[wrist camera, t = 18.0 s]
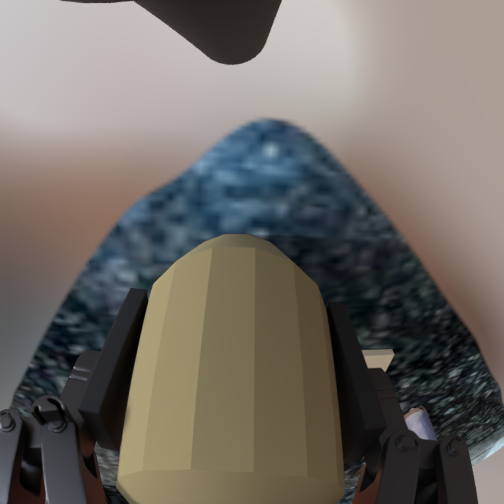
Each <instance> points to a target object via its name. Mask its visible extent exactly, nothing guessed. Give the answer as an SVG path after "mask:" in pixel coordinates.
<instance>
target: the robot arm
mask: <svg viewBox="0 0 504 504" xmlns="http://www.w3.org/2000/svg"><path fill="white" fill-rule="evenodd" d="M147 305H148V297H147V290H145V289H135V288H131V289H130V291H129V293H128V295H127V297H126V299H125V301H124V303H123V305H122V307H121V309H120V311H119V313H118V315H117V317H116V319H115V321H114V323H113V326H112V328H111V330H110V332H109V334H108V336H107V339H106V341H105V343H104V345H103V347H102V350H101V352H99V351H94V350H89V349H87V350H86V351H85V352H84V353H83V354H82V355H81V356H79V357H78V359H77V361H76V364H75V366H74V369H73V370H72V372H71V374H70V378H68V381H67V383H66V385H65V387H64V389H63V392H62V394H61V396H60V398H59V397H57V396H55V395H45V396H41V397H40V398H38V399H37V400H36V401H35V402H34V403H33V405H32V408H31V413H32V415H33V416H34V417H21V416H20V415H19V414H18V413H17V412H16V411H14V410H12V409H5V410H2V411H0V504H45V496H46V498H47V504H107V502H106V498H105V494H104V490H103V485H102V481H101V476H100V472H99V467H98V462H97V457H96V453H95V451H94V446H95V443H96V441H97V443H98V445H99V446H100V447H102V448H106V449H110V450H114V451H118V452H119V449H120V445H121V441H122V434H123V427H124V420H125V414H126V408H127V402H128V396H129V390H130V385H131V379H132V374H133V369H134V364H135V358H136V354H137V349H138V344H139V339H140V335H141V330H142V326H143V321H144V317H145V313H146V309H147ZM326 311H327V316H328V323H329V330H330V337H331V345H332V353H333V361H334V369H335V377H336V386H337V396H338V405H339V416H340V427H341V439H342V452H343V463H351V462H358V461H359V460H360V459H361V458H362V457H363V456H364V458H365V462H366V463H365V465H364V466H363V467H362V468H361V469H360V470H359V471H358V472H357V474H356V476H355V477H358V476H359V475H360V474H361V475H360V479H359V482H358V486H357V489H356V493H355V496H354V500H353V503H352V504H478V499H477V492H476V486H475V481H474V475H473V471H472V465H471V460H470V456H469V451H468V447H467V444H466V442H465V441H464V439H463V438H462V437H460V436H458V435H455V434H450V435H446V436H445V437H444V438H443V439H442V440H441V441H437V440H428V439H422V438H419V436H418V435H417V434H416V433H415V432H414V431H412V430H409V429H408V427H407V425H406V422H405V419H404V416H403V413H402V410H401V408H400V405H399V402H398V399H397V397H396V394H395V391H394V389H393V386H392V383H391V381H390V378H389V376H388V375H387V374H386V373H385V371H384V370H383V369H382V368H381V367H380V368H368V366H367V364H366V361H365V358H364V355H363V352H362V349H361V347H360V344H359V341H358V338H357V336H356V333H355V330H354V328H353V325H352V322H351V319H350V317H349V314H348V312H347V309H346V306H345V304H344V303H332V302H328V306H327V309H326Z"/></svg>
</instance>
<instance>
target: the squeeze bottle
mask: <svg viewBox="0 0 504 504" xmlns="http://www.w3.org/2000/svg"><path fill="white" fill-rule="evenodd" d="M116 488H117V489H118V490H119V492H120V493H121V494H122V495H123V496H124V498H125V499H126V500H127V501H128V502H129V504H337V503H338V501H339V500H340V499H341V498H342V497H343V496H344V495H345V484H344V466H343V452H342V439H341V427H340V416H339V405H338V396H337V386H336V377H335V369H334V361H333V353H332V345H331V337H330V330H329V323H328V316H327V311H326V308H325V305H324V302H323V299H322V296H321V293H320V290H319V287H318V285H317V284H316V283H315V282H314V281H313V280H312V279H311V278H310V277H308V276H307V275H306V274H305V273H304V272H303V271H302V270H301V269H300V268H299V267H298V266H297V265H296V264H295V263H294V262H293V261H292V260H290V259H289V258H288V257H287V256H286V255H285V254H284V253H282V252H281V251H280V250H279V249H278V248H277V247H276V246H274V245H273V244H272V243H271V242H269V241H266V240H263V239H261V238H258V237H256V236H253V235H250V234H224V235H221V236H218V237H216V238H213V239H211V240H208V241H205V242H203V243H202V244H200V245H199V246H197V247H196V248H194V249H193V250H192V251H190V252H189V253H187V254H186V255H184V256H183V257H182V258H180V259H179V260H177V261H176V262H175V263H174V264H173V265H172V266H171V267H170V268H169V269H168V270H167V271H166V272H165V273H164V274H163V275H162V276H161V277H160V278H159V279H158V280H157V281H156V282H155V283H154V284H153V287H152V291H151V294H150V298H149V301H148V305H147V309H146V313H145V317H144V321H143V326H142V330H141V335H140V339H139V344H138V349H137V354H136V358H135V364H134V369H133V374H132V379H131V385H130V390H129V396H128V402H127V408H126V414H125V420H124V427H123V434H122V441H121V449H120V456H119V465H118V474H117V483H116Z"/></svg>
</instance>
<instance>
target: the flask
mask: <svg viewBox="0 0 504 504" xmlns="http://www.w3.org/2000/svg"><path fill="white" fill-rule="evenodd" d="M420 408H423V409H424V410H422V409H420ZM404 419H405V422H406V425H407V427H408V429H409V430H412V431H414V432H415V433H416V434H417V435H418V436H419V438H422V439H428V440H437V438H436V436H435V432H434V429H433V426H432V424H431V421H430V419H429V416H428V413H427V411H426V409H425V407H424V406H419V407H418V408H411V409H410V411H409V412H408V413H407V414H405V415H404ZM437 441H438V440H437Z"/></svg>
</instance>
